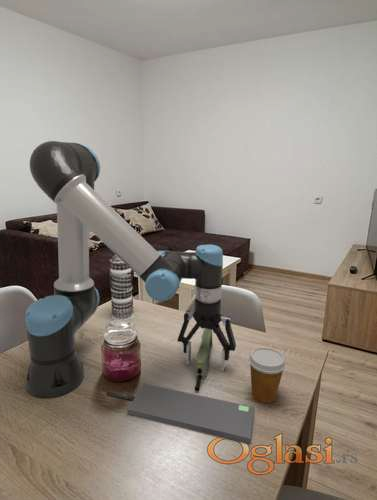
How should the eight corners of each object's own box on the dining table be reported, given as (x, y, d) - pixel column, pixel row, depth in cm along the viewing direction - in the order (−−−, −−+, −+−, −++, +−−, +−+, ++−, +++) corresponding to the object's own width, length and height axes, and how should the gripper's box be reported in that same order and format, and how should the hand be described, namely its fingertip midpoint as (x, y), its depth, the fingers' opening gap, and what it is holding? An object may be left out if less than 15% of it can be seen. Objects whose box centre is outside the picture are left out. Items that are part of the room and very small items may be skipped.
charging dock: (96, 406, 83) (96, 401, 83) (115, 382, 93) (115, 377, 92) (249, 443, 73) (250, 438, 73) (253, 412, 83) (254, 406, 82)
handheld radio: (213, 345, 112) (203, 394, 89) (204, 344, 113) (191, 393, 89) (213, 327, 111) (202, 373, 87) (203, 326, 111) (190, 371, 88)
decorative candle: (127, 308, 137) (125, 251, 131) (138, 317, 130) (137, 256, 124) (107, 314, 132) (103, 255, 125) (117, 323, 125) (114, 261, 118)
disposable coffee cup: (286, 392, 90) (291, 354, 87) (274, 413, 82) (278, 372, 79) (254, 379, 95) (257, 342, 92) (239, 398, 87) (242, 358, 84)
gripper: (166, 298, 94) (166, 365, 100) (246, 309, 88) (241, 379, 94) (174, 288, 101) (174, 352, 107) (249, 298, 95) (244, 364, 101)
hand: (205, 365), depth 101 cm, fingers open, 10 cm apart
